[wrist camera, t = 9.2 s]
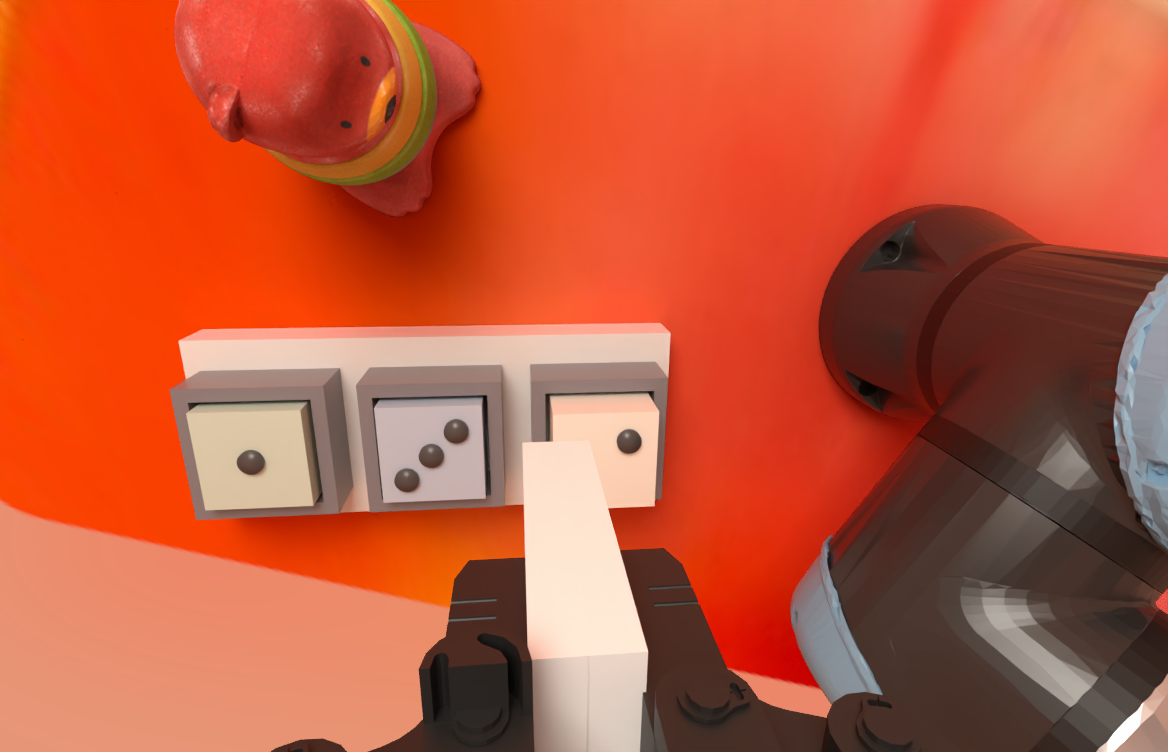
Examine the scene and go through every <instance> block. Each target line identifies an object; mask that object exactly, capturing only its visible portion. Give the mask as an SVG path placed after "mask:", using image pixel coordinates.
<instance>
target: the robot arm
mask: <svg viewBox="0 0 1168 752" xmlns="http://www.w3.org/2000/svg"><path fill="white" fill-rule="evenodd" d="M819 335H820V344H821V349H822V353H823V356H824V359H825V362H826V364H827V367H828V369H829V371H830V372H831V374H832V376H833V377H834V379H835V380H836V381H837V383H838V384H839V385H840V386H841V387H842V388H843V389H844V390H845V391H846V392H847V393H848V394H850V395H851V396H852V397H854V398H855V399H857V400H858V401H860V402H861V403H863V404H864V405H866V406H868V407H869V408H871V409H873V410H874V411H876V412H879V413H881V414H883V415H886V416H889V417H892V418H896V419H900V420H907V421H915V422H924V423H926V425H925V426H924V427H923V428H922V430H921V431H920V432H919V433H918V434H917V435H916V436H915V438H914V439H913V440H912V441H911V442H910V444H909V445H908V446H907V447H906V449H905V450H904V451H903V452H902V453H901V455H900V456H899V457H898V458H897V460H896V461H895V462H894V463H893V464H892V466H891V467H890V468H889V469H888V471H887V472H886V473H885V474H884V475H883V477H882V478H881V479H880V480H879V482H878V483H877V484H876V485H875V486H874V488H873V489H872V490H871V491H870V492H869V494H868V495H867V496H866V497H865V499H864V500H863V501H862V502H861V503H860V505H859V506H858V507H857V508H856V510H855V511H854V512H853V513H852V514H851V516H850V517H849V518H848V519H847V521H846V522H845V523H844V524H843V525H842V527H841V528H840V529H839V530H838V532H837V533H836V534H835V535H830V536H829V537H828V538H827V539H826V540H825V541H824V543H823V545H822V547H821V553H820V554H819V555H818V557H817V558H816V560H815V561H814V562H813V564H812V565H811V567H810V568H809V569H808V571H807V572H806V573H805V575H804V576H803V578H802V579H801V580H800V582H799V583H798V585H797V586H796V588H795V590H794V593H793V595H792V599H791V605H790V615H791V623H792V626H793V629H794V632H795V637H796V641H797V644H798V647H799V649H800V651H801V653H802V656H803V658H804V660H805V662H806V664H807V666H808V668H809V670H810V671H811V673H812V675H813V677H814V678H815V680H816V682H817V683H818V685H819V686H820V688H821V690H822V691H823V693H824V694H825V696H826V697H827V698H828V700H829V701H830V703H831V704H832V706H831V709H830V711H829V713H828V715H827V718H824V717H819V716H814V715H809V714H804V713H799V712H794V711H789V710H785V709H781V708H778V707H774V706H771V705H769V704H767V703H765V702H763V701H761V700H759V699H758V697H757V696H756V694H755V693H754V692H753V691H752V689H751V688H750V686H749V685H748V684H747V682H746V681H744V680H743V679H742V678H740V677H739V676H738V675H736V674H735V673H733V672H732V671H730V670H728V669H727V667H726V665H725V662H724V660H723V658H722V655H721V653H720V651H719V648H718V646H717V644H716V642H715V639H714V637H713V635H712V632H711V630H710V628H709V625H708V623H707V621H706V618H705V616H704V614H703V611H702V609H701V607H700V605H698V600H697V598H696V595H695V593H694V591H693V588H691V584H690V581H689V579H688V577H687V574H686V572H685V570H684V568H683V565H682V564H681V563H680V562H679V561H678V560H677V559H675V558H674V557H673V556H672V555H671V554H670V553H669V552H668V551H666V550H665V549H664V548H659V549H640V550H621V551H620V549H619V546H618V542H617V539H616V535H615V532H614V528H613V524H612V521H611V517H610V514H609V510H608V507H607V503H606V499H605V496H604V492H603V489H602V485H601V482H600V478H599V475H598V471H597V467H596V464H595V460H594V457H593V453H592V450H591V446H590V442H589V440H586V441H556V442H527V443H522V446H523V491H524V535H525V558H507V559H488V560H469V561H468V563H467V564H466V565H465V566H464V568H463V569H462V570H461V572H460V573H459V574H458V575H457V577H456V578H455V579H454V586H453V593H452V599H451V606H450V612H449V623H448V625H447V632H446V637H445V638H443V639H441V640H439V641H438V642H437V644H435V645H434V646H433V647H432V648H431V649H430V650H429V651H428V652H427V653H426V655H425V657H424V659H423V661H422V664H421V666H420V668H419V675H420V688H421V699H422V710H423V720H422V721H421V722H420V723H419V724H418V725H417V726H416V727H415V728H414V729H413V730H411V731H410V732H408V733H407V734H405V735H404V736H403V737H401V738H400V739H398V740H395V741H393V742H391V743H389V744H387V745H385V746H382V747H380V748H377V749H374V750H371V751H369V752H1168V614H1166V613H1165V612H1163V611H1162V610H1160V609H1159V608H1158V607H1157V605H1156V603H1155V602H1156V601H1157V600H1158V599H1159V597H1160V596H1161V595H1162V594H1163V593H1164V592H1165V591H1166V590H1167V589H1168V257H1159V256H1150V255H1141V254H1132V253H1123V252H1114V251H1105V250H1096V249H1088V248H1079V247H1070V246H1061V245H1051V244H1045V243H1043V242H1042V241H1040V240H1038V239H1037V238H1035V237H1034V236H1032V235H1030V234H1029V233H1027V232H1026V231H1024V230H1022V229H1021V228H1019V227H1018V226H1016V225H1014V224H1013V223H1011V222H1010V221H1008V220H1006V219H1005V218H1003V217H1001V216H999V215H997V214H995V213H992V212H990V211H987V210H983V209H980V208H975V207H970V206H959V205H943V204H936V205H924V206H919V207H915V208H911V209H908V210H905V211H902V212H899V213H897V214H895V215H893V216H891V217H889V218H887V219H885V220H883V221H882V222H880V223H878V224H877V225H876V226H874V227H873V228H871V229H870V230H869V231H868V232H866V233H865V234H864V235H863V236H862V237H861V238H860V239H859V240H858V241H857V242H856V243H855V244H854V245H853V246H852V247H851V248H850V249H849V251H848V252H847V253H846V254H845V256H844V257H843V258H842V260H841V261H840V263H839V264H838V266H837V268H836V269H835V271H834V273H833V275H832V277H831V279H830V281H829V284H828V286H827V289H826V291H825V295H824V298H823V302H822V306H821V312H820V321H819ZM1156 590H1157V591H1156ZM1159 592H1160V593H1161V594H1160V593H1159ZM271 752H347V751H345V749H344V748H343V747H342V746H341V745H339V744H337V743H334V742H331V741H328V740H325V739H307V740H299V741H295V742H293V743H290V744H287V745H284V746H281V747H278V748H276V749H274V750H273V751H271Z"/></svg>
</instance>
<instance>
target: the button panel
mask: <svg viewBox="0 0 1168 752" xmlns="http://www.w3.org/2000/svg"><path fill="white" fill-rule="evenodd" d="M670 336H671V333H670V332H669V331H668V330H667V329H666V328H665V327H664V326H663V325H662V324H661V323H616V324H543V325H471V326H399V327H327V328H255V329H202V330H200V331H198V332H196V333H194V334H192V335H190V336H188V337H185V338H183V339H181V340H179V346H180V351H181V356H182V361H183V366H184V371H185V376H186V380H184V381H183V382H181V383H179V384H178V385H176V386H175V387H173V388H171V389H170V394H171V399H172V404H173V409H174V414H175V418H176V423H177V428H178V433H179V438H180V443H181V448H182V452H183V457H184V462H185V467H186V472H187V477H188V482H189V486H190V491H191V496H192V501H193V506H194V511H195V516H196V520H206V519H229V518H252V517H274V516H297V515H320V514H339V513H341V512H364V511H370V512H388V511H410V510H433V509H456V508H478V507H501V506H505V505H523V504H524V491H523V446H522V443H527V442H550V431H549V393H588V392H628V391H647V392H648V394H649V396H650V397H651V399H652V401H653V402H654V404H655V405H656V407H657V409H658V410H659V428H658V448H657V467H656V487H655V500H660V499H662V483H663V465H664V446H665V428H666V409H667V391H668V372H669V354H670ZM471 395H485V399H486V424H487V448H488V478H487V489H486V499H462V500H439V501H415V502H392V503H383V493H382V483H381V473H380V463H379V453H378V443H377V433H376V423H375V413H374V408H375V406H376V404H377V403H378V401H379V399H380V398H392V397H431V396H471ZM274 400H310V402H311V409H312V417H313V424H314V432H315V439H316V447H317V454H318V462H319V469H320V477H321V484H322V493H321V495H320V496H319V498H318V499H317V501H316V503H315V504H314V506H299V507H275V508H252V509H229V510H205V506H204V501H203V496H202V491H201V486H200V481H199V476H198V471H197V466H196V461H195V456H194V451H193V446H192V441H191V436H190V431H189V426H188V421H187V416H186V413H187V412H189V411H190V410H192V409H193V408H194V407H196V406H197V405H199V404H200V403H201V402H235V401H274Z"/></svg>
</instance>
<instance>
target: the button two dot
mask: <svg viewBox="0 0 1168 752" xmlns="http://www.w3.org/2000/svg"><path fill="white" fill-rule="evenodd" d="M658 428H659V410H658V409H657V407H656V405H655V404H654V402H653V401H652V399H651V397H650V396H649V394H648V392H647V391H628V392H588V393H549V431H550V442H556V441H586V440H589V442H590V446H591V450H592V453H593V457H594V460H595V464H596V467H597V471H598V475H599V478H600V482H601V485H602V489H603V492H604V496H605V499H606V503H607V507H608V508H624V507H646V506H655V487H656V467H657V448H658Z"/></svg>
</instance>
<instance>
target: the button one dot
mask: <svg viewBox="0 0 1168 752" xmlns="http://www.w3.org/2000/svg"><path fill="white" fill-rule="evenodd" d="M186 416H187V421H188V426H189V431H190V436H191V441H192V446H193V451H194V456H195V461H196V466H197V471H198V476H199V481H200V486H201V491H202V496H203V501H204V506H205V510H229V509H252V508H275V507H299V506H314V504H315V503H316V501H317V499H318V498H319V496H320V495H321V493H322V484H321V477H320V469H319V462H318V454H317V447H316V439H315V432H314V424H313V417H312V409H311V402H310V400H274V401H235V402H201V403H200V404H199V405H197V406H196V407H194V408H193V409H192V410H190V411H189V412H187V413H186Z"/></svg>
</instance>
